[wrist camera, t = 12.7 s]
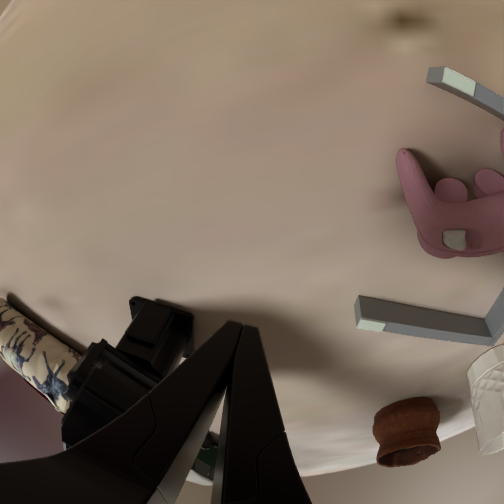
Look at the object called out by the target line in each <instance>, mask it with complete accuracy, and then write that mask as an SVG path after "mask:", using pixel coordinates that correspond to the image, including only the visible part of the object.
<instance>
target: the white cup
mask: <svg viewBox="0 0 504 504" xmlns="http://www.w3.org/2000/svg"><path fill="white" fill-rule="evenodd" d="M467 380H468V384H469V389H470V393H471V394H470V397H471V402H472V410H473V416H474V422H475V428H476V434H477V442H478V451H479V454H480V455H488V454H492V453H496V452H499V451H501V450H503V449H504V344H503V345H500V346H497V347H494V348H492V349H490V350H488V351H487V352H485V353H484V354H482V355H481V356H480V357H479V358H478V359H477V360H476V361H475V362H474V363H472V365H471V367H470V368H469V370H468V372H467Z"/></svg>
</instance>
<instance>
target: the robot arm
mask: <svg viewBox="0 0 504 504" xmlns="http://www.w3.org/2000/svg"><path fill="white" fill-rule="evenodd" d="M129 305H130V310H131V315H132V322H131V323H130V325H129V326H128V328H127V330H126V331H125V334H124V335H123V337H122V338H121V340H120V341H119V343H118V344H117V346H116V348H114V347H113V346H111V345H110V344H108V342H107V341H106V340H105V339H102V340H101V341H100V343H94V342H92V343H91V345H90V346H89V347H88V349H87V350H86V352H85V353H84V354H83V356H82V357H81V358H80V359H79V360H78V362H77V363H76V364H75V365H74V366H73V367H72V369H71V370H70V371H69V372H68V374H67V379H68V384H69V385H68V387H67V389H68V391H67V393H66V395H65V397H66V398H67V399H69V400H70V401H72V403H71V404H70V406H69V408H68V410H67V412H66V413H65V415H64V417H63V419H62V423H61V424H62V428H61V429H62V441H63V444H64V451H62V452H60V453H58V454H55V455H51V456H48V457H42V458H37V459H30V460H23V461H15V462H6V463H0V504H174V503H175V501H176V499H177V497H178V495H179V493H180V491H181V489H182V487H183V485H184V482H185V480H186V478H187V476H188V474H189V472H190V470H191V468H192V465H193V463H194V461H195V459H196V457H197V455H198V452H199V450H200V448H201V446H202V444H203V442H204V439H205V437H206V435H207V433H208V430H209V428H210V426H211V424H212V422H213V419H214V417H215V415H216V413H217V410H218V408H219V406H220V404H221V401H222V399H223V396H224V394H225V399H224V405H223V413H222V420H221V428H220V435H219V443H218V450H217V458H216V465H215V473H214V480H213V488H212V496H211V504H312V502H311V500H310V498H309V495H308V493H307V491H306V489H305V487H304V485H303V482H302V480H301V477H300V475H299V472H298V470H297V467H296V465H295V462H294V459H293V456H292V452H291V449H290V446H289V442H288V439H287V435H286V432H284V431H285V428H284V424H283V420H282V417H281V413H280V409H279V405H278V401H277V398H276V394H275V390H274V386H273V382H272V378H271V375H270V371H269V367H268V363H267V359H266V355H265V351H264V347H263V343H262V340H261V336H260V332H259V329H258V327H257V326H253V325H249V324H244V325H243V324H242V323H241V322H238V321H234V320H228V321H227V322H226V323H224V324H223V325H222V326H221V327H220V328H219V329H218V330H217V331H216V332H215V333H214V334H213V335H212V336H211V337H209V338H208V339H207V340H206V341H205V342H204V343H203V344H202V345H201V346H200V347H199V348H197V349H196V350H195V351H194V316H193V315H192V314H190V313H188V312H184V311H180V310H177V309H173V308H170V307H166V306H163V305H159V304H156V303H152V302H149V301H146V300H143V299H139V298H136V297H132V298H131V299H130V300H129ZM182 357H184V358H187V359H185V360H184V361H183V362H182V363H181V364H180V365H179V363H180V361H181V358H182ZM178 365H179V366H178ZM226 388H227V389H226ZM225 391H226V393H225Z"/></svg>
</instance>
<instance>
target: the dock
mask: <svg viewBox="0 0 504 504" xmlns="http://www.w3.org/2000/svg"><path fill="white" fill-rule="evenodd" d="M427 83H429V84H432V85H434V86H437V87H439V88H441V89H443V90H446V91H448V92H450V93H452V94H454V95H457V96H459V97H461V98H463V99H465V100H467V101H469V102H471V103H473V104H475V105H477V106H479V107H480V108H482V109H484V110H486V111H488V112H490V113H491V114H493V115H495V116H497V117H498V118H500V119H502V120H503V121H504V98H503V97H501V96H500V95H498V94H496V93H495V92H493V91H491V90H489V89H488V88H486V87H484V86H482V85H481V84H479V83H477V82H475V81H473V80H471V79H470V78H468V77H466V76H464V75H462V74H460V73H458V72H456V71H454V70H451V69H449V68H447V67H445V66H444V67H432V68H429V71H428V77H427ZM354 308H355V317H356V327H357V328H359V329H365V330H371V331H376V332H382V331H385V332H391V333H397V334H403V335H410V336H416V337H423V338H430V339H437V340H445V341H452V342H460V343H469V344H477V345H486V346H494V344H495V343H496V342H497V340H498V339H499V338H500V336H501V335H502V334H503V332H504V289H503V290H502V292H501V294H500V295H499V297H498V298H497V300H496V302H495V303H494V305H493V306H492V308H491V309H490V311H489V312H488V314H487V315H486V317H485V318H484V319H479V318H473V317H468V316H462V315H456V314H451V313H446V312H440V311H435V310H430V309H424V308H419V307H414V306H409V305H404V304H398V303H393V302H388V301H383V300H378V299H373V298H368V297H363V296H358V298H357V300H356V302H355V304H354Z"/></svg>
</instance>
